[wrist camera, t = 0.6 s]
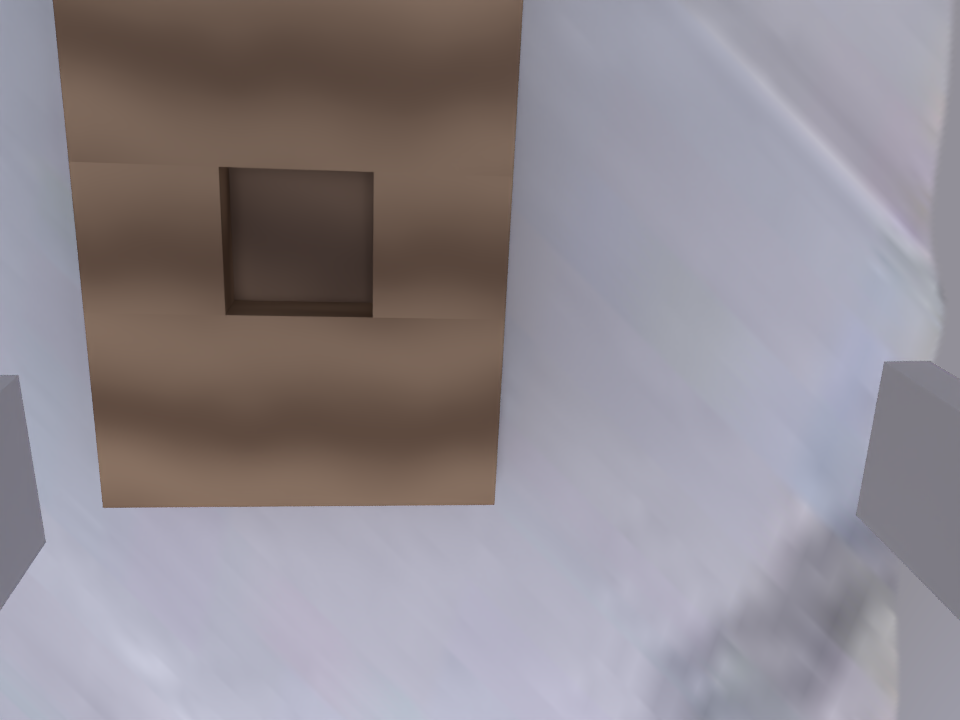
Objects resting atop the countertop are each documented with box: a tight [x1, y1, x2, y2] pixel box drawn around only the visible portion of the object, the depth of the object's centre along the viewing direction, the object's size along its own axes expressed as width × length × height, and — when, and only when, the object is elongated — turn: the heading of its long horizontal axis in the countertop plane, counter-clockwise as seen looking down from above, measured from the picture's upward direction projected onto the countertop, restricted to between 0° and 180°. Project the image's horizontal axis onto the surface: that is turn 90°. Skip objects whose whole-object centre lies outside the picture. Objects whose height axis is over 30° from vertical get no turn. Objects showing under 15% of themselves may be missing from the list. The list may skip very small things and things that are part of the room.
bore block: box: [53, 0, 523, 508], centre depth 35 cm, size 22×16×3 cm
